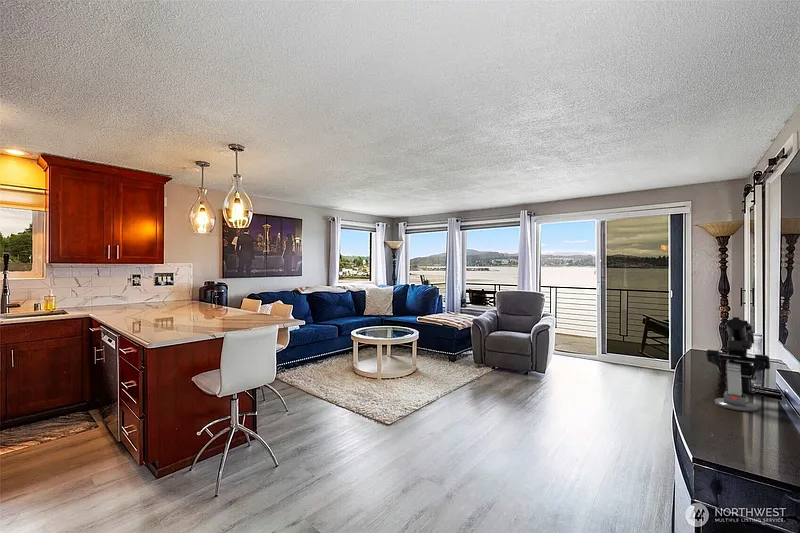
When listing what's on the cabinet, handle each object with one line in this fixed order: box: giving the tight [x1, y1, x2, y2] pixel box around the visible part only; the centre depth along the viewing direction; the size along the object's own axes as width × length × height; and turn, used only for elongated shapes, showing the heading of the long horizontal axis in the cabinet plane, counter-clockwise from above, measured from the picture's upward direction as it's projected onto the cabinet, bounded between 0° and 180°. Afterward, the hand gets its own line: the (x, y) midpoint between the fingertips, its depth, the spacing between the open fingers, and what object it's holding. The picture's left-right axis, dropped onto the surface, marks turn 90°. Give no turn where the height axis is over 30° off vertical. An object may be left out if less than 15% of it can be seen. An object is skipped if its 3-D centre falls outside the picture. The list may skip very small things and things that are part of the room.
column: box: [726, 362, 742, 397], centre depth 139 cm, size 4×4×12 cm
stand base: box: [714, 390, 759, 413], centre depth 138 cm, size 12×12×4 cm
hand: (736, 376), depth 143 cm, fingers open, 9 cm apart
